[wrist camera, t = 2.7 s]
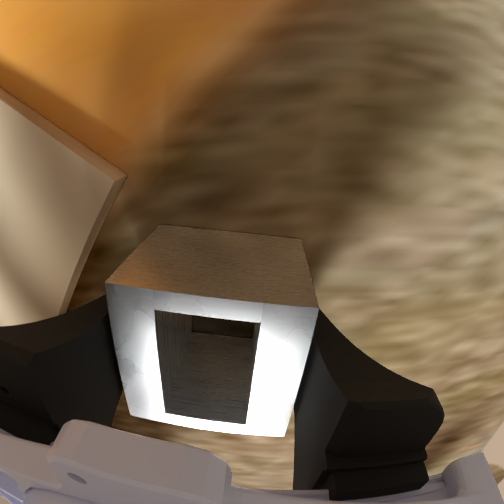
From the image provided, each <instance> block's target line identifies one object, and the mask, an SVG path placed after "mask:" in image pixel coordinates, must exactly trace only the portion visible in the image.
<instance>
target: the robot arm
mask: <svg viewBox="0 0 504 504" xmlns="http://www.w3.org/2000/svg"><path fill="white" fill-rule="evenodd" d="M122 390H123V384H122V380H121V375H120V371H119V366H118V361H117V356H116V351H115V346H114V341H113V335H112V329H111V324H110V317H109V311H108V304H107V297H106V295H104V296H102V297H100V298H98V299H96V300H94V301H92V302H90V303H88V304H86V305H84V306H82V307H79V308H77V309H75V310H72V311H69V312H67V313H64V314H61V315H58V316H55V317H51V318H48V319H44V320H40V321H36V322H31V323H26V324H20V325H13V326H0V496H1V497H2V498H4V499H5V500H7V501H9V502H10V503H11V504H504V502H503V499H502V497H501V494H500V491H499V489H498V486H497V484H496V481H495V479H494V476H493V474H492V472H491V469H490V467H489V465H488V463H487V460H486V458H485V456H484V454H483V453H482V452H480V453H477V454H473V455H470V456H466V457H463V458H459V459H457V460H455V461H453V462H452V463H450V464H449V465H448V466H447V467H446V468H445V470H444V471H443V472H442V473H441V474H437V475H432V476H428V474H427V470H426V467H425V464H424V461H425V460H426V459H427V453H426V450H425V447H426V445H427V444H428V443H429V442H430V440H431V439H432V438H433V436H434V435H435V434H436V432H437V431H438V430H439V428H440V426H441V424H442V423H443V419H444V411H443V408H442V406H441V404H440V402H439V400H438V398H437V396H436V394H435V392H434V390H433V389H432V388H429V387H426V386H424V385H421V384H418V383H416V382H413V381H411V380H408V379H406V378H404V377H402V376H400V375H398V374H396V373H394V372H392V371H391V370H389V369H387V368H385V367H384V366H382V365H381V364H379V363H377V362H376V361H374V360H373V359H371V358H370V357H369V356H367V355H366V354H365V353H363V352H362V351H361V350H359V349H358V348H357V347H356V346H355V345H353V344H352V343H351V342H350V341H349V340H348V339H347V338H346V337H345V336H344V335H343V334H342V333H341V332H340V331H339V330H338V329H337V328H336V327H335V326H334V325H333V324H332V323H331V322H330V320H329V319H328V318H327V317H326V316H325V315H324V313H323V312H322V311H321V310H320V309H319V311H318V316H317V320H316V324H315V328H314V332H313V336H312V340H311V344H310V348H309V352H308V356H307V360H306V363H305V367H304V371H303V374H302V378H301V382H300V385H299V389H298V392H297V396H296V399H295V403H294V415H295V448H294V478H293V490H268V489H251V488H244V487H240V486H235V485H231V478H232V472H231V470H230V468H229V466H228V464H227V462H225V461H224V460H223V459H221V458H219V457H218V456H216V455H214V454H213V453H211V452H210V451H208V450H204V449H200V448H197V447H193V446H190V445H187V444H181V443H175V442H170V441H165V440H160V439H155V438H151V437H146V436H142V435H138V434H134V433H130V432H126V431H122V430H118V429H115V428H111V424H112V421H113V417H114V414H115V411H116V408H117V405H118V402H119V399H120V396H121V393H122Z"/></svg>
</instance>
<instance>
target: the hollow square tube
mask: <svg viewBox="0 0 504 504" xmlns="http://www.w3.org/2000/svg"><path fill="white" fill-rule="evenodd" d="M105 290H106V297H107V304H108V311H109V317H110V324H111V329H112V335H113V341H114V346H115V351H116V356H117V361H118V366H119V371H120V375H121V380H122V384H123V388H124V392H125V396H126V400H127V404H128V408H129V412H130V415H132V416H136V417H141V418H145V419H150V420H154V421H159V422H164V423H169V424H175V425H180V426H186V427H192V428H199V429H205V430H213V431H220V432H229V433H238V434H248V435H261V436H276V437H284V435H285V432H286V429H287V426H288V423H289V419H290V416H291V413H292V409H293V406H294V403H295V399H296V396H297V392H298V389H299V385H300V382H301V378H302V374H303V371H304V367H305V363H306V360H307V356H308V352H309V348H310V344H311V340H312V336H313V332H314V328H315V324H316V320H317V316H318V311H319V305H318V301H317V297H316V293H315V290H314V286H313V282H312V278H311V274H310V271H309V267H308V263H307V259H306V256H305V252H304V248H303V245H302V241H301V239H296V238H287V237H278V236H269V235H260V234H250V233H241V232H231V231H221V230H212V229H202V228H191V227H181V226H171V225H159V226H158V227H157V228H156V229H155V230H154V231H153V232H152V233H151V234H150V235H149V236H148V237H147V238H146V239H145V240H144V241H143V242H142V243H141V244H140V245H139V246H138V247H137V248H136V249H135V250H134V251H133V252H132V253H131V254H130V256H129V257H128V258H127V259H126V260H125V261H124V262H123V263H122V264H121V265H120V266H119V267H118V268H117V269H116V270H115V272H114V273H113V274H112V275H111V276H110V277H109V278H108V279H107V280H106V281H105ZM192 315H196V316H204V317H212V318H220V319H229V320H238V321H247V322H254V330H253V338H242V337H233V336H225V335H217V334H209V333H201V332H194V331H192Z"/></svg>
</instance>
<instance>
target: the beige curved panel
mask: <svg viewBox="0 0 504 504" xmlns="http://www.w3.org/2000/svg"><path fill="white" fill-rule="evenodd" d="M127 176H128V175H127V174H125V173H124V172H122V171H121V170H119V169H118V168H117V167H115V166H114V165H112V164H111V163H109V162H108V161H106V160H105V159H103V158H102V157H100V156H99V155H98V154H96V153H95V152H93V151H92V150H90V149H89V148H87V147H86V146H84V145H83V144H82V143H80V142H79V141H77V140H76V139H74V138H73V137H71V136H70V135H68V134H67V133H66V132H64V131H63V130H61V129H60V128H58V127H57V126H55V125H54V124H52V123H51V122H50V121H48V120H47V119H45V118H44V117H42V116H41V115H39V114H38V113H37V112H35V111H34V110H32V109H31V108H29V107H28V106H26V105H25V104H24V103H22V102H21V101H19V100H18V99H16V98H15V97H13V96H12V95H11V94H9V93H8V92H6V91H5V90H3V89H2V88H1V87H0V326H13V325H20V324H26V323H31V322H36V321H40V320H44V319H48V318H51V317H55V316H58V315H61V314H64V313H66V311H67V309H68V306H69V303H70V301H71V298H72V295H73V293H74V290H75V287H76V285H77V282H78V280H79V277H80V275H81V272H82V270H83V268H84V265H85V263H86V261H87V258H88V256H89V254H90V251H91V249H92V247H93V245H94V242H95V240H96V238H97V236H98V234H99V231H100V229H101V227H102V225H103V223H104V221H105V219H106V217H107V215H108V213H109V211H110V209H111V207H112V205H113V203H114V201H115V199H116V197H117V195H118V193H119V191H120V189H121V187H122V185H123V183H124V182H125V180H126V178H127Z"/></svg>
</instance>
